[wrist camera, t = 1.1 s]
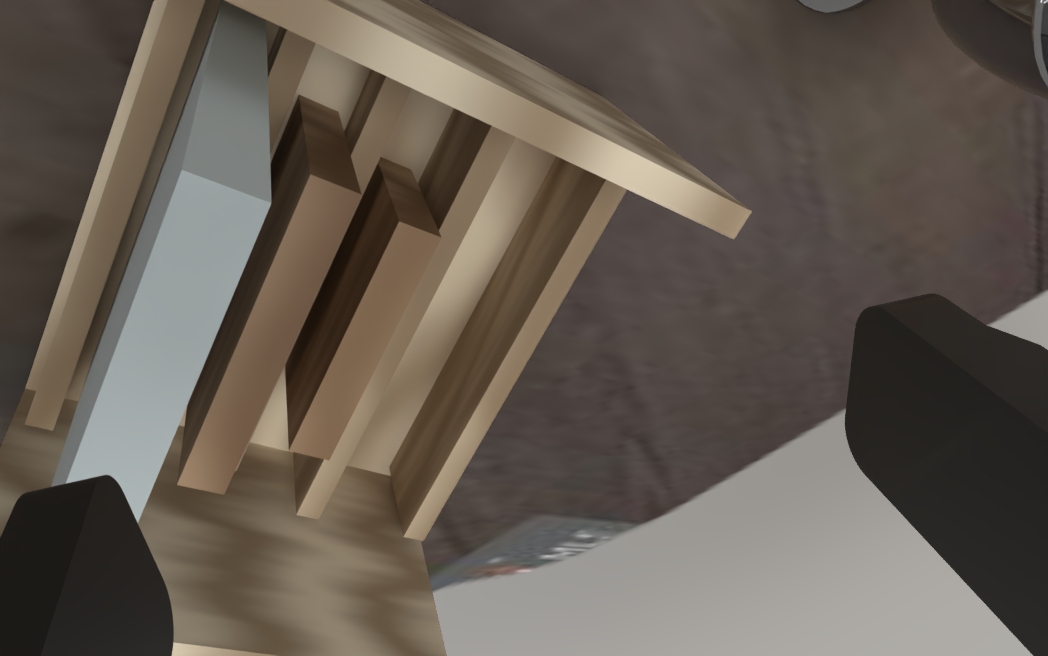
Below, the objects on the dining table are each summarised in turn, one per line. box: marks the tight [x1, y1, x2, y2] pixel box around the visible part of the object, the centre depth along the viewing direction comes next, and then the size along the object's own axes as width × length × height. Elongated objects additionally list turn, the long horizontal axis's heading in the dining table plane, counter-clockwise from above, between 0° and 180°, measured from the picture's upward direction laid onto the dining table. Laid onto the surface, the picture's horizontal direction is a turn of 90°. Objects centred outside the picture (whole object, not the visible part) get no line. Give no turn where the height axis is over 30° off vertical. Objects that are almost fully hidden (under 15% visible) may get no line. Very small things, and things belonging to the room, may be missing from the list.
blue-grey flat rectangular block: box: [51, 0, 271, 523], centre depth 25 cm, size 2×16×18 cm, turn 151°
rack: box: [0, 0, 752, 656], centre depth 31 cm, size 18×22×14 cm
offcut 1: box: [177, 95, 362, 495], centre depth 30 cm, size 2×12×9 cm, turn 151°
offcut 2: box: [285, 157, 442, 460], centre depth 33 cm, size 2×10×7 cm, turn 151°
